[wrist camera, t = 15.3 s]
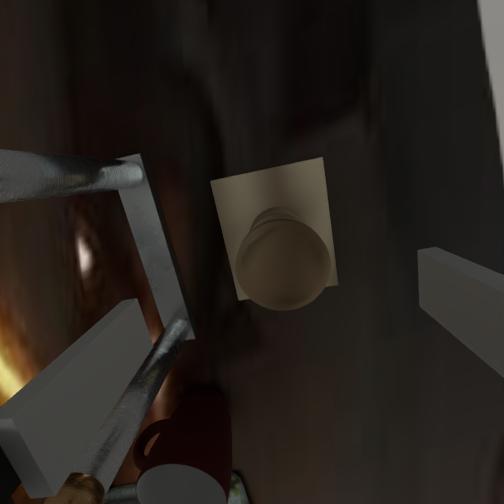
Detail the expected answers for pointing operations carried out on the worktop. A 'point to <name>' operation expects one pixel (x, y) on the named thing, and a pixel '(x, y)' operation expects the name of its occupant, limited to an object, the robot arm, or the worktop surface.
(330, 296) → the worktop surface
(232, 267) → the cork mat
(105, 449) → the grey piece
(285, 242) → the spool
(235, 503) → the towel
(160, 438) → the mug
